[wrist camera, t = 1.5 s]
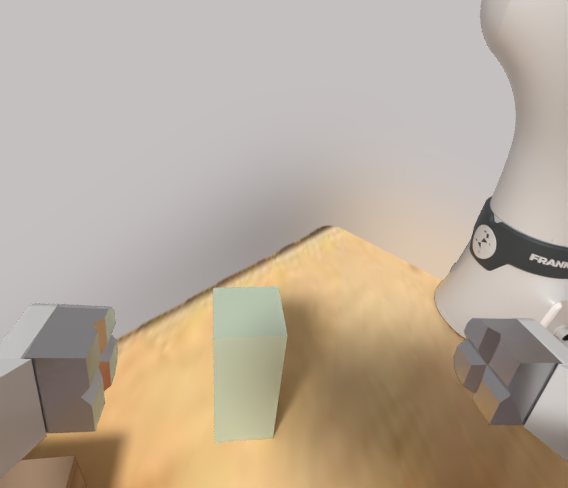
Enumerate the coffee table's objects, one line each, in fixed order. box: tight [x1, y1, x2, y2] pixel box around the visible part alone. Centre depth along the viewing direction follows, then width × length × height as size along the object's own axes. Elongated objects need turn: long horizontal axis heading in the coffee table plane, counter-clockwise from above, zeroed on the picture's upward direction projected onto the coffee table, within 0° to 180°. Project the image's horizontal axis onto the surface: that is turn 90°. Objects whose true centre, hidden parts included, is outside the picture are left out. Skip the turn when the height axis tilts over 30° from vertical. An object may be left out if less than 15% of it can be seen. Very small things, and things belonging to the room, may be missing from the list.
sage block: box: [213, 287, 288, 443], centre depth 33 cm, size 5×5×13 cm
